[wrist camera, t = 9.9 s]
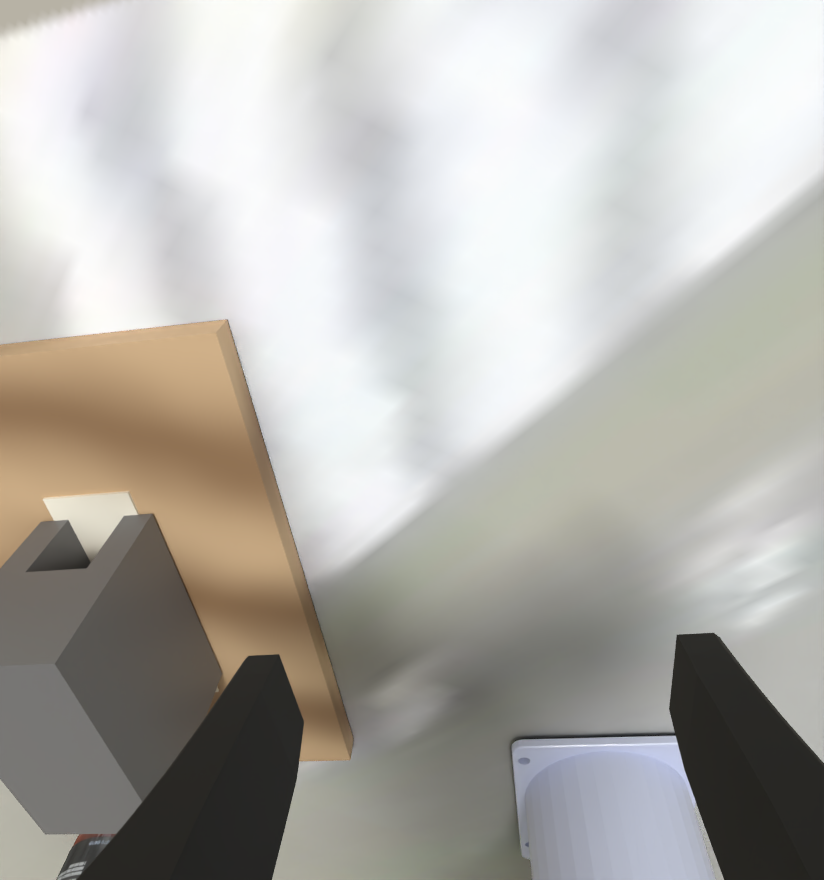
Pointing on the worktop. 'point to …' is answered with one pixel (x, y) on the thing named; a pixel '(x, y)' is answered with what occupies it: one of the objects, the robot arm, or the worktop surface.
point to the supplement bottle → (83, 854)
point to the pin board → (169, 489)
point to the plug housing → (96, 674)
